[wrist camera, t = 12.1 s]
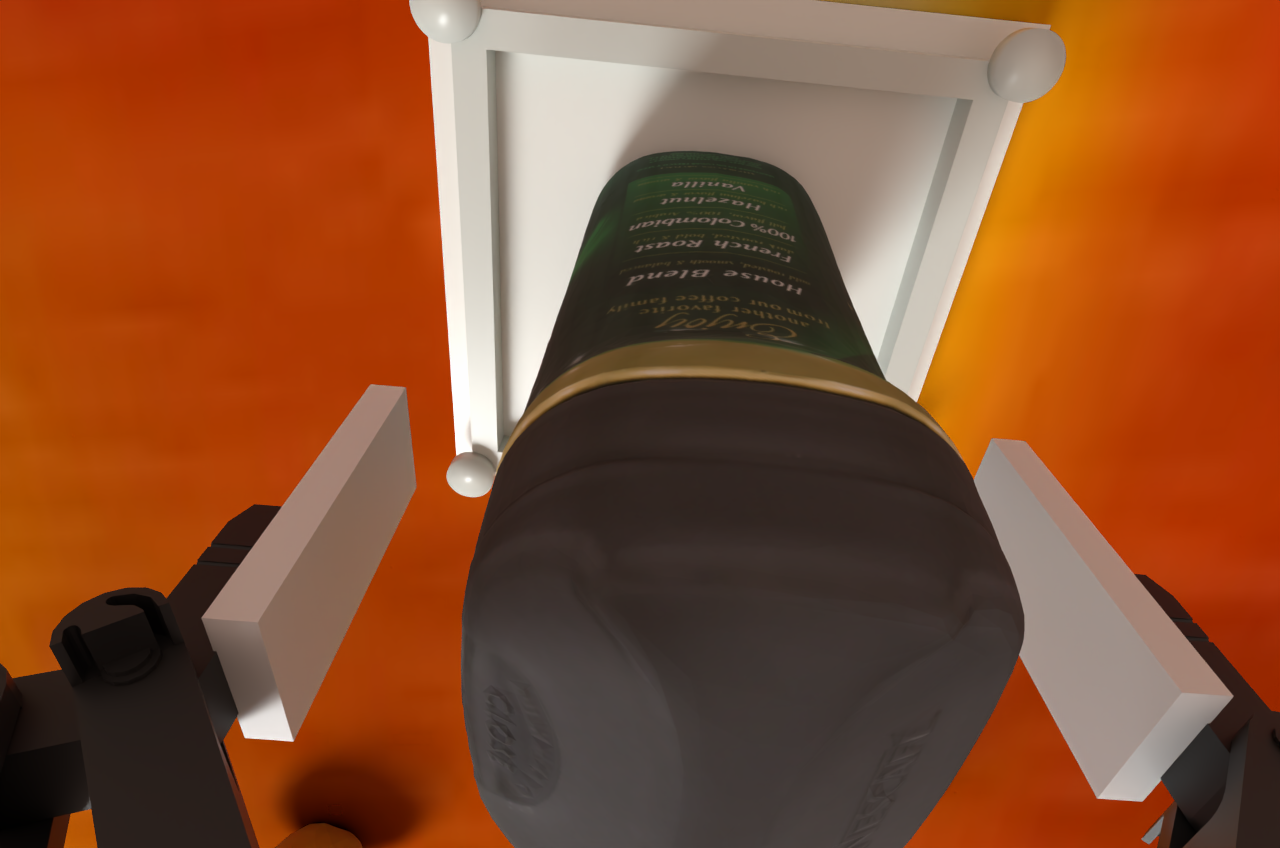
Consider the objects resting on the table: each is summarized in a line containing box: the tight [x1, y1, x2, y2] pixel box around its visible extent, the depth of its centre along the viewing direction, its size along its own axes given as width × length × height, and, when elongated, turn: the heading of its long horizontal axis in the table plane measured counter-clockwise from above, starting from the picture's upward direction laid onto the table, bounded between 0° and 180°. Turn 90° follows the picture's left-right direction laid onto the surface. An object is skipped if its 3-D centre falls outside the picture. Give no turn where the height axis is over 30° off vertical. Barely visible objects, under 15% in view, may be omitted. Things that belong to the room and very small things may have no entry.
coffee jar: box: [461, 151, 1025, 848], centre depth 17 cm, size 10×8×19 cm
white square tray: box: [409, 0, 1066, 497], centre depth 24 cm, size 18×18×3 cm
